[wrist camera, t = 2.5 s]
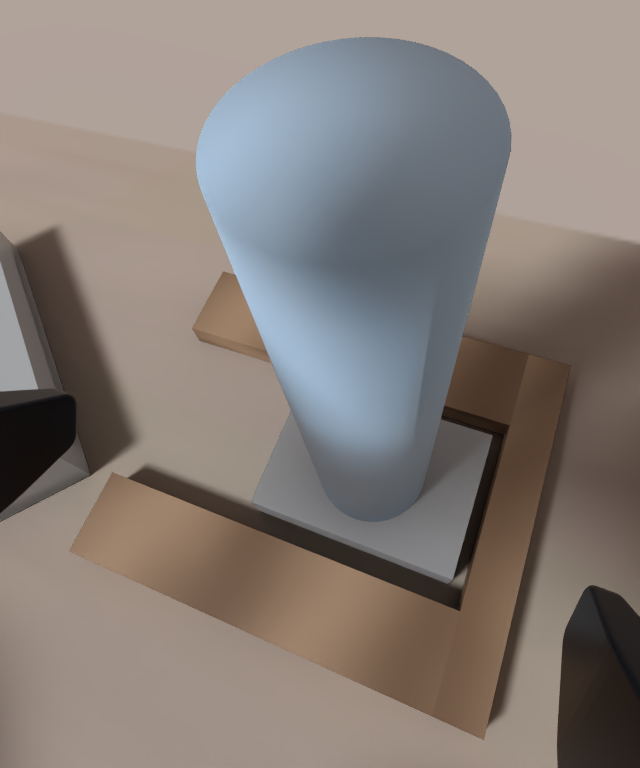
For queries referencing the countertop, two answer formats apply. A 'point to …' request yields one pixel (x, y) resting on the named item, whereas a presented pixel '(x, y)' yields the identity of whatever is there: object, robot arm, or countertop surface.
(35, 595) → the countertop surface
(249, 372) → the countertop surface
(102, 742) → the countertop surface
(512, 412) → the slot
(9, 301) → the tray
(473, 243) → the tall blue pillar
